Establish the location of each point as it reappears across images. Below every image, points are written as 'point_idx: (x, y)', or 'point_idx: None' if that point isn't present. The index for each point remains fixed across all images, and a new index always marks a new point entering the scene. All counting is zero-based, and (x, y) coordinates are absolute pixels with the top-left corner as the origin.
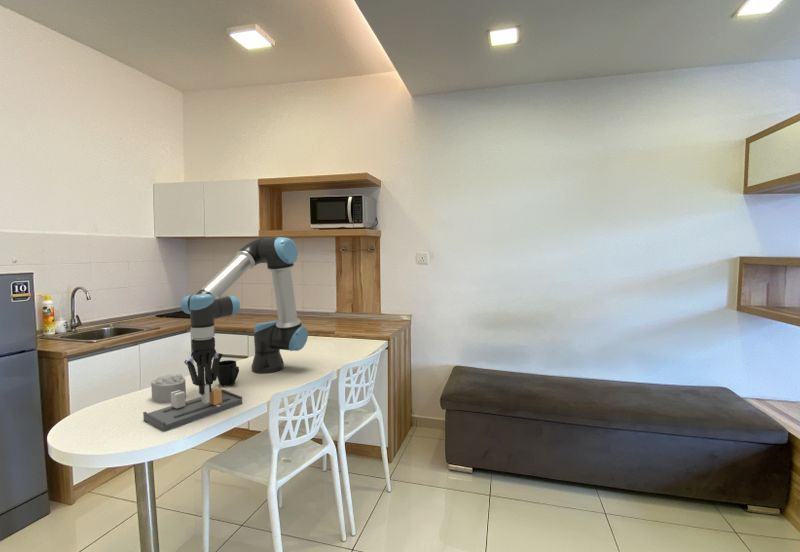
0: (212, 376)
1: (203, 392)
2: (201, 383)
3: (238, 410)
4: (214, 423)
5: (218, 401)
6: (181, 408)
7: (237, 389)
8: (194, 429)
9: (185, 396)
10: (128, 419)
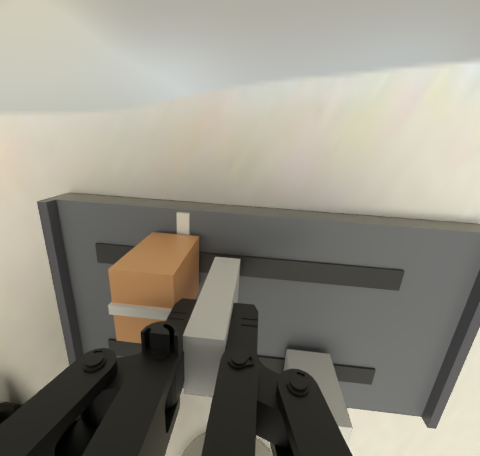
0: (84, 426)
1: (239, 312)
2: (256, 376)
3: (121, 130)
4: (295, 84)
5: (168, 238)
6: (305, 345)
7: (14, 351)
8: (398, 110)
9: (195, 443)
10: (431, 438)
